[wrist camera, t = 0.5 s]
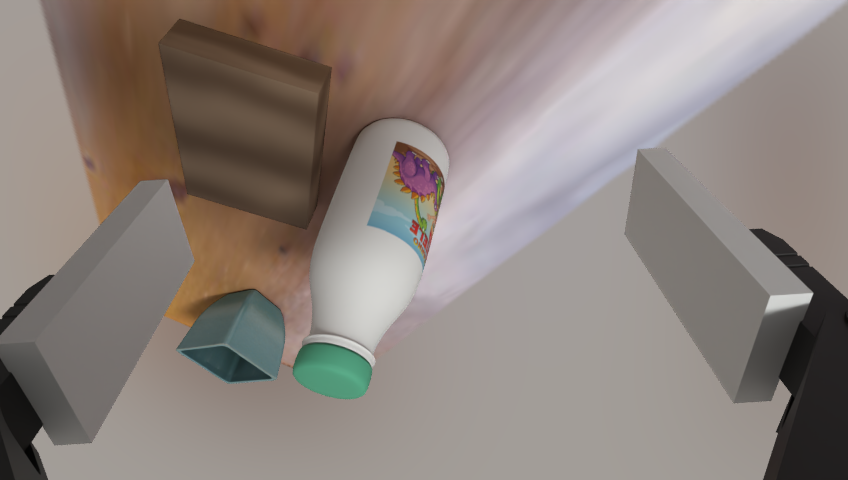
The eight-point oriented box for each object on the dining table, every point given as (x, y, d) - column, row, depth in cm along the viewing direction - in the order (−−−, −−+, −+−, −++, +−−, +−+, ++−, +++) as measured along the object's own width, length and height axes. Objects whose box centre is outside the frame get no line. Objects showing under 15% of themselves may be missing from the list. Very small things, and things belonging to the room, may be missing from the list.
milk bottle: (373, 187, 49) (296, 405, 37) (343, 117, 43) (240, 348, 31) (459, 185, 46) (406, 418, 35) (439, 111, 41) (368, 359, 29)
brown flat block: (179, 18, 39) (158, 43, 37) (331, 67, 40) (318, 93, 38) (202, 170, 52) (187, 193, 50) (317, 205, 52) (306, 229, 51)
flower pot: (255, 276, 66) (224, 344, 60) (303, 315, 71) (277, 381, 66) (207, 286, 70) (173, 350, 65) (254, 322, 75) (227, 384, 70)
